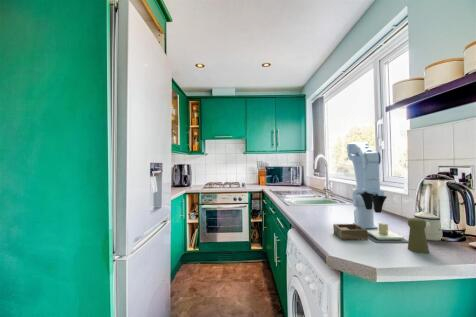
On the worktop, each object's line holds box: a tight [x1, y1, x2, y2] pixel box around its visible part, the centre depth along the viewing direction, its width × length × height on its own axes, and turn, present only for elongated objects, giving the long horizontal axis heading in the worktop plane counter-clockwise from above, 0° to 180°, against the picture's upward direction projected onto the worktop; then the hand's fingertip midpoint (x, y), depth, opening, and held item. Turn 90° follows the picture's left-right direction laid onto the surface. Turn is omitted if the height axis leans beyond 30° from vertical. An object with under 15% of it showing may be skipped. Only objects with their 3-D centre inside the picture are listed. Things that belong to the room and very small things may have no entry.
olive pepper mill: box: [407, 217, 430, 254], centre depth 83 cm, size 6×6×11 cm
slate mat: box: [367, 233, 409, 244], centre depth 97 cm, size 13×13×1 cm
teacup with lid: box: [413, 210, 443, 242], centre depth 95 cm, size 12×9×12 cm
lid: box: [366, 222, 405, 240], centre depth 97 cm, size 10×10×5 cm
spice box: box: [332, 223, 369, 241], centre depth 100 cm, size 10×10×4 cm
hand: (373, 210), depth 101 cm, fingers open, 7 cm apart
